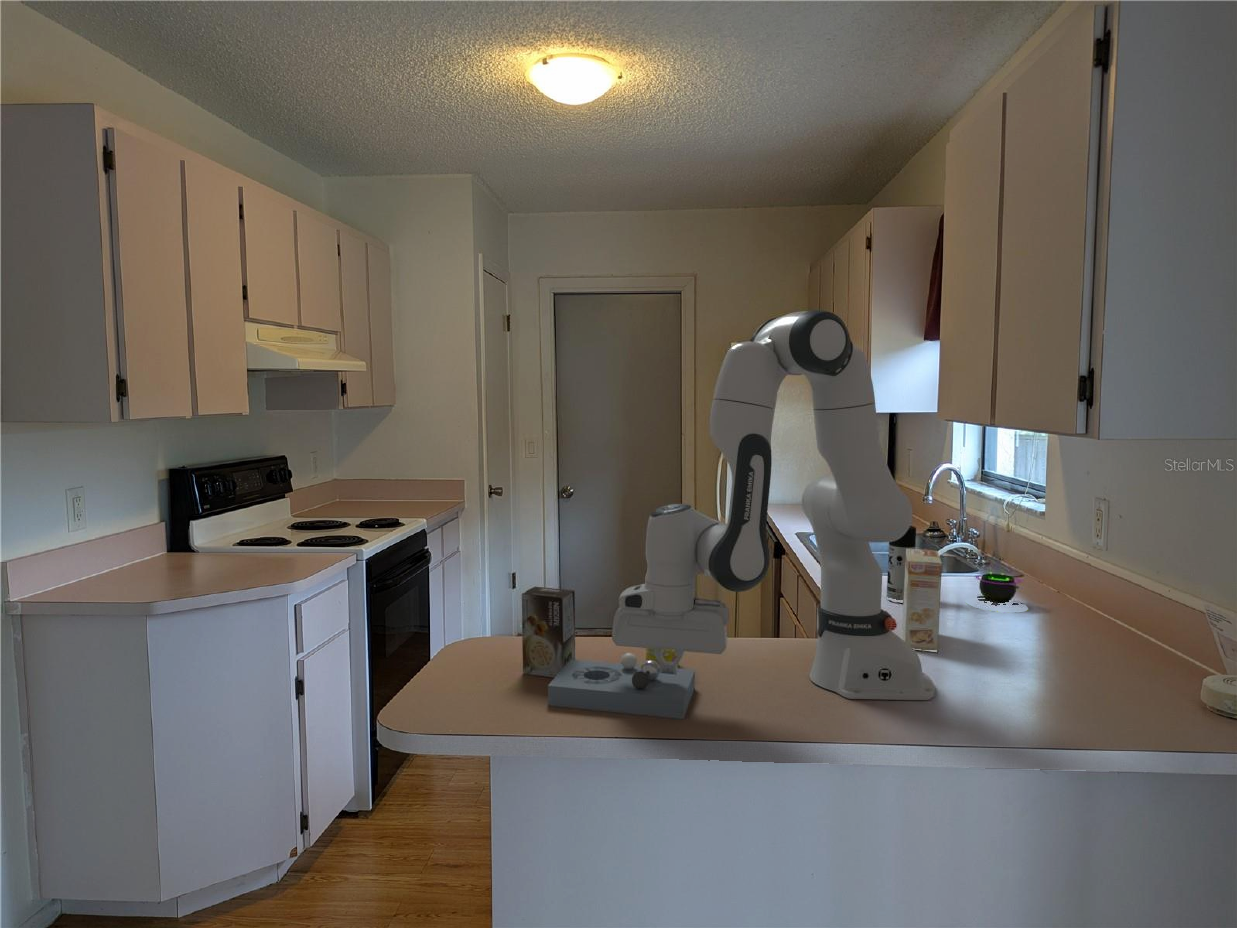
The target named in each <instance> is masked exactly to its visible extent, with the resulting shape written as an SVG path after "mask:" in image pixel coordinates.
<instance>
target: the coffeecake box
mask: <svg viewBox="0 0 1237 928" xmlns="http://www.w3.org/2000/svg"><path fill="white" fill-rule="evenodd" d="M941 559H942V558H941V557H940V554H939V551H938V550H933V549H923V548H921V549H919V548H915V549H906V560H905V579H904V601H903V604H902V606H903V608H902V629H901V630H903V632H902V640H903V641H905V642H906V643H907V644H908V645H910V646H911V647H912V648H914V649H921V650H938V651H939V631H940V628H939V627H940V614H941V613H940V610H941V609H940V608H941V590H942V589H941V588H942V573H943V572H942V569H943V568H942V567H943V563H942V560H941Z"/></svg>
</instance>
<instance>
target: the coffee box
mask: <svg viewBox="0 0 1237 928" xmlns="http://www.w3.org/2000/svg"><path fill="white" fill-rule="evenodd" d="M575 595H576V594H575V590H572V589H564V588H563V589H562V588H551V587H544V586H543V587H542V586H533V587H532V588H531V587H530V588H529V589H527V590H526V591H525V592H522V593H521V631H522V632H521V633H522V634H521V636H522V637H521V638H522V640H521V641H522V643H521V644H522V646H521V647H522V649H521V650H522V675H523V674H524V675H531V676H540V677H545V678H546V677H547V678H552V679H554V678H555V677H556V676H557V674H558V673H559V672H560V671H561V670H562V669H563V667H564V666H565V665H566V664H567V663H568V662H569V661H570V659H575V660H576V608H575V607H576V605H575V603H576V601H575V599H576V596H575Z"/></svg>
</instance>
